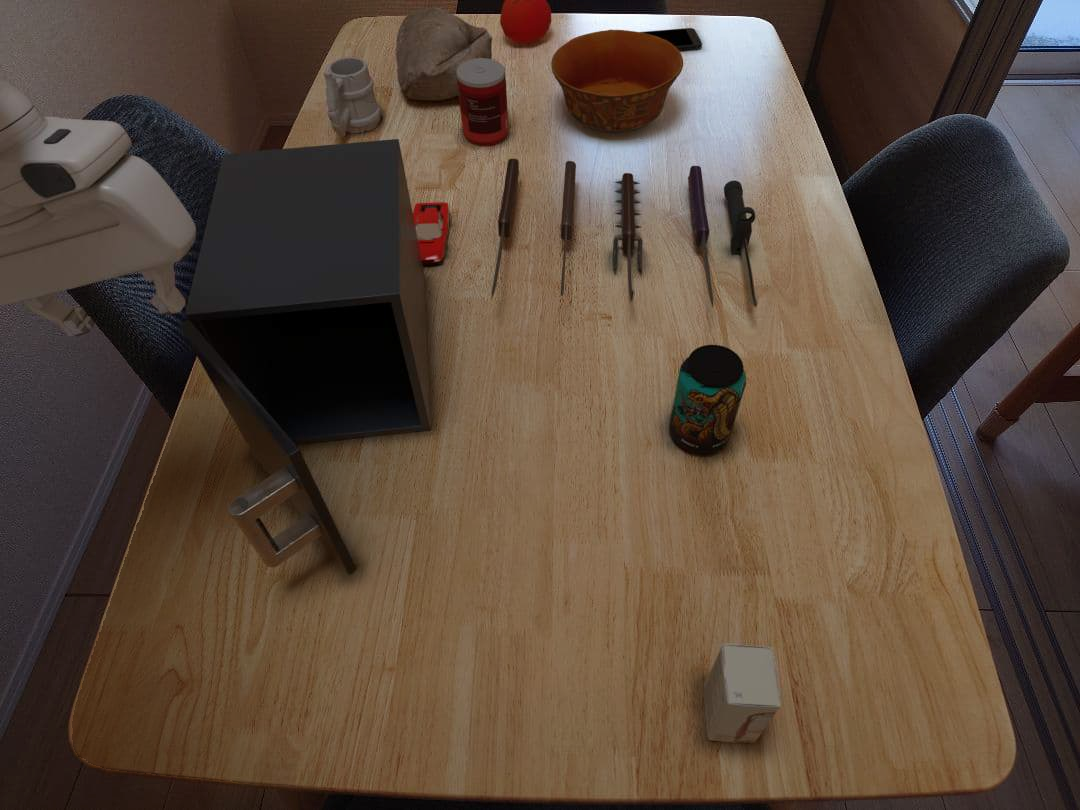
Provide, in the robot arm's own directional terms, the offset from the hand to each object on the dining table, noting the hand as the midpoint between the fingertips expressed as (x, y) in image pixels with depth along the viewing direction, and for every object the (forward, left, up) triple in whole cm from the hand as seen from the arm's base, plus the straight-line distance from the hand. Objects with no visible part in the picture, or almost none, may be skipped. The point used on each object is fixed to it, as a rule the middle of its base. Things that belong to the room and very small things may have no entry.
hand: (128, 320), depth 63 cm
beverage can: (+1, -53, -27) cm, 59 cm away
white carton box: (-30, -48, -27) cm, 63 cm away
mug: (+71, -11, -27) cm, 77 cm away
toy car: (+40, -23, -27) cm, 53 cm away
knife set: (+33, -50, -27) cm, 65 cm away
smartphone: (+91, -68, -27) cm, 116 cm away
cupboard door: (-5, -5, -27) cm, 28 cm away
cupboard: (+18, -12, -27) cm, 35 cm away
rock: (+82, -27, -27) cm, 90 cm away
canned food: (+66, -33, -27) cm, 78 cm away
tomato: (+97, -43, -27) cm, 109 cm away
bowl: (+68, -55, -27) cm, 91 cm away
